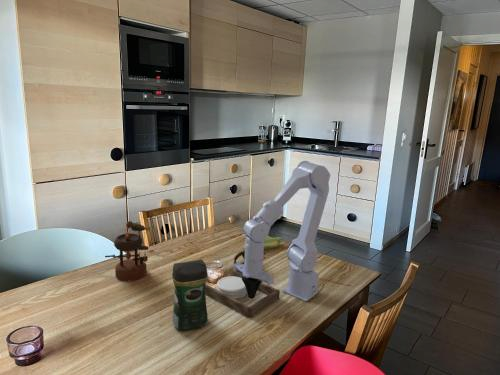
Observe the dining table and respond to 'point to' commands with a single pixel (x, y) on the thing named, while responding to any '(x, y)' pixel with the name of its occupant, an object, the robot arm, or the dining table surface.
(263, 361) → the dining table surface
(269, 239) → the edible corn
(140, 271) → the music box
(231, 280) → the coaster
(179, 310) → the coffee jar
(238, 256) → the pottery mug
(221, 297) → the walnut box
